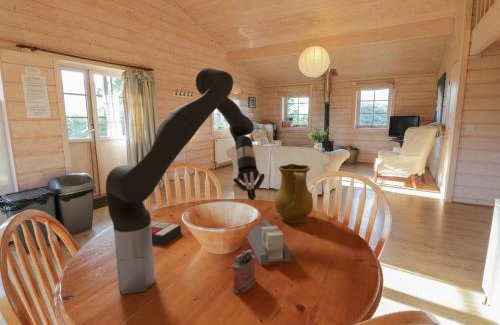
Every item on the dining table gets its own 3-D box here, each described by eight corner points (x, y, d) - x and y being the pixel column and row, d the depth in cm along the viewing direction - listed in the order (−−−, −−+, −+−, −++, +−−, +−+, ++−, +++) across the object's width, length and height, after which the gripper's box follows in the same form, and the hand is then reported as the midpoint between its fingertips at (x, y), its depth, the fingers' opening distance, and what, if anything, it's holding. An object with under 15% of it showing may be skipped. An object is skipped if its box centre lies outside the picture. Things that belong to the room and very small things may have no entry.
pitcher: (316, 213, 127) (316, 162, 122) (307, 230, 111) (306, 171, 106) (281, 209, 135) (280, 160, 130) (268, 225, 118) (266, 169, 113)
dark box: (150, 220, 113) (180, 223, 108) (151, 230, 114) (181, 233, 108) (130, 230, 103) (163, 234, 98) (132, 241, 103) (164, 245, 98)
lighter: (249, 277, 78) (248, 244, 77) (258, 281, 76) (258, 248, 75) (229, 290, 72) (229, 256, 71) (239, 296, 70) (238, 260, 68)
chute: (290, 261, 87) (291, 251, 86) (260, 265, 84) (260, 255, 84) (266, 227, 113) (266, 219, 113) (243, 229, 111) (243, 221, 111)
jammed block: (282, 257, 86) (283, 234, 85) (267, 259, 85) (268, 235, 84) (276, 247, 93) (276, 225, 92) (262, 249, 92) (262, 227, 91)
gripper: (262, 162, 113) (269, 200, 105) (231, 167, 113) (236, 205, 105) (261, 152, 107) (269, 192, 98) (228, 158, 107) (233, 198, 98)
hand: (252, 199), depth 101 cm, fingers closed
